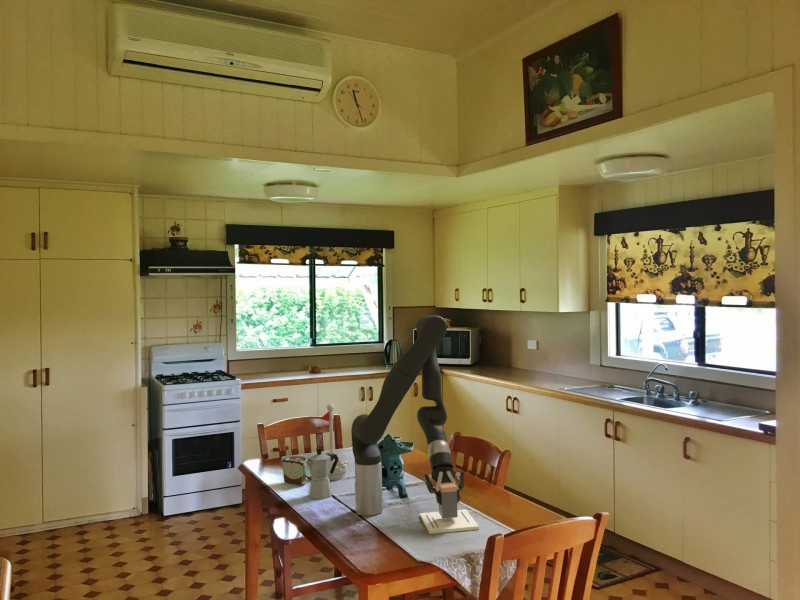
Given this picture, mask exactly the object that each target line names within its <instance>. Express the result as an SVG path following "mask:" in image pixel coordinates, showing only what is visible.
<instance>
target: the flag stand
mask: <svg viewBox="0 0 800 600" xmlns="http://www.w3.org/2000/svg"><path fill="white" fill-rule="evenodd" d="M326 409H327V410H328V411H327V412H326V413H325V414H324V415H323V416H321V417H320V419H322V420H323V421H326V422H328V428H329V430H328V431H329V432H328V433H329V434H328V435H329V454H335V452H334V451H335V450H334V448H335V447H334V419H333V417H334V416H333V411H334V409H335V405H334V404H332V403H329V404H327V405H326ZM334 460H335V459H333V460H332V461H331V462H330V470H331V468H332V465H333V463H334ZM348 470H349V462H348V461H347V460H345V461H343V459H339V460H338V462H337V465H336V467H335V470H334V472H333V474H331V473H329V475H328V477H329V481H338V480H339V481H340V480H342V479H344V478H346V477H347V471H348Z"/></svg>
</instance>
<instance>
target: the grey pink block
mask: <svg viewBox="0 0 800 600" xmlns="http://www.w3.org/2000/svg"><path fill="white" fill-rule="evenodd" d="M457 486H458V485H457ZM457 486H456V485H455V484H454V483H451V482H449V483H441V484H439V488H440V490H439V491H440V493H441V499H442V504H441V505H439V504H438V512H439V514H440V515H441V517H442V519H444V518H455V517H458V514H457V510H458V504H457Z"/></svg>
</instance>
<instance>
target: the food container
mask: <svg viewBox="0 0 800 600" xmlns="http://www.w3.org/2000/svg"><path fill="white" fill-rule="evenodd" d="M307 460H308V458H306V457H305V456H300V455H291V456H285V457H284V456H283V457H281V460H280V464H281V466H282V475H283V484H286V485H292V486H298V487H304V486H305V485H306V478H307V477H306V475H307V467H308V465H307V463H305V462H306V461H307Z"/></svg>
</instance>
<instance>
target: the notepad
mask: <svg viewBox="0 0 800 600" xmlns="http://www.w3.org/2000/svg"><path fill="white" fill-rule="evenodd" d="M457 514H458V517H455V518H444V519H442V517H441V515H440V514H439V511H432V512H431V511H430V512H422V513H419V517H420V519H421V520H422V523H423V525H424V526H425V528H426V530H427V532H428V534H430V535H432V534H442V533H443V534H444V533H452V532H453V533H454V532H455V533H456V532H463V531H464V532H465V531H475V530H477V531H478V530H480V525H479V524H478V523H477V521H476V520H475V519H474V518H473V517H472V515H471V514H470V512H469V511H468V510H467V509H466V508H464V509H457Z"/></svg>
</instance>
